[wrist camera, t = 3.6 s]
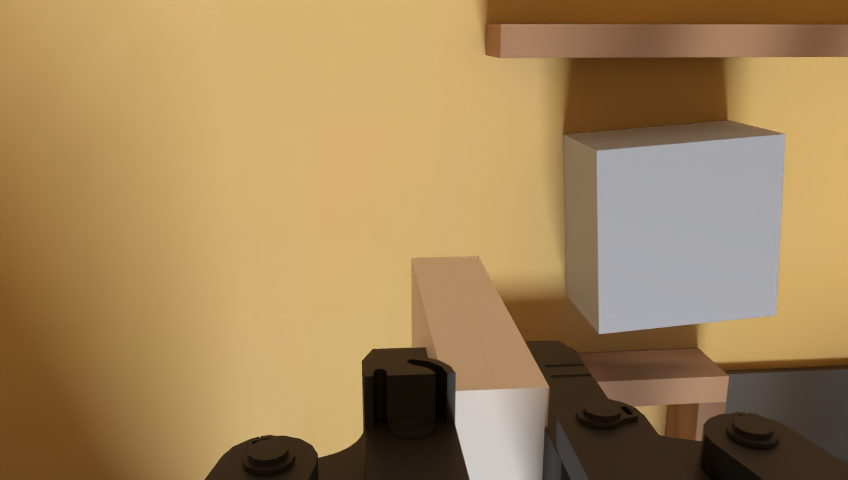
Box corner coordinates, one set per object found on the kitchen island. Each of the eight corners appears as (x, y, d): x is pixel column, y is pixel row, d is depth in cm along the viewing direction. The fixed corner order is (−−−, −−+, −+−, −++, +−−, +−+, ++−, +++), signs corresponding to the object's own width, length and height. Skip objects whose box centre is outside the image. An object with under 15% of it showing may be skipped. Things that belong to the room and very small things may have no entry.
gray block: (565, 294, 29) (598, 334, 26) (561, 133, 28) (596, 150, 24) (720, 278, 30) (776, 315, 26) (725, 119, 28) (785, 134, 24)
